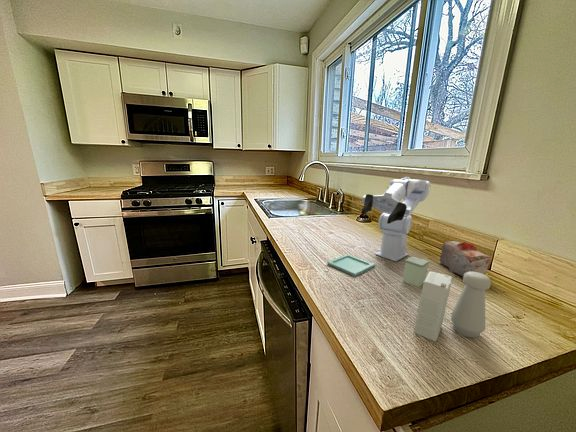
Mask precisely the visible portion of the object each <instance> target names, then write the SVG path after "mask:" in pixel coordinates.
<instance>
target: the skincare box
mask: <svg viewBox="0 0 576 432" xmlns="http://www.w3.org/2000/svg"><path fill="white" fill-rule="evenodd" d="M427 273H428V274H426V279H425V281H424V283H423V284H422V289H421V294H420V299H419V302H418V303H419V304H418V308H417V314H416V319H415V324H414V330H413V332H414V333H415V334H418V335H420V336H422V337H423V338H425V339H429V340H430V341H433V342H437V341H438V338H439V335H440V332H441V328H442V326H443V322H444V317H445V313H446V308H447V304H448V299H449V295H450V290H451V285H452V281H453V276H450V275H446V274H444V273H443V274H442V273H438V272H435V271H429V272H427Z"/></svg>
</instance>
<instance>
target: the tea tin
mask: <svg viewBox="0 0 576 432" xmlns="http://www.w3.org/2000/svg"><path fill="white" fill-rule="evenodd" d="M404 263H405V265H404V270H403V271H404V272H403V278H402V282H404V283H407V284H409V285H413V286H415V287H417V288H419V287H421V286H423V284H424V281H425V279H426V277H427V273H428V272H427V271H428V266H429V263H430V261H429V260H426V259H422V258H420V257H416V256H413V255H412V256H410V257H408V258H407V259H405V262H404Z"/></svg>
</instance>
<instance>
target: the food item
mask: <svg viewBox="0 0 576 432" xmlns="http://www.w3.org/2000/svg"><path fill="white" fill-rule="evenodd" d="M440 253H441V254H440V258H439V264H442V265H444V267H445V266H446V267H447V268H448V269H449V272H450V273H451V272H452V273H455V274H457V275H459V276H461V277H462V278H463V277H464V274H465V273H467V272H478V273H482V274H484V275H486V273H487V270H488V269H489V265H490V262H491V259H492V257H491V256H490V255H487V254H485V253H483V252H481V251H478V250H477V247H476V245H474V243H473V244H472V243H469V242H466V241H465V242H459V241H455V240H452V241H450V240H448V241H444V242H443V243H442V246H441V252H440Z"/></svg>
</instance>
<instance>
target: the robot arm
mask: <svg viewBox="0 0 576 432" xmlns="http://www.w3.org/2000/svg"><path fill="white" fill-rule="evenodd" d="M429 187H430V188H431V182H430V181H429V180H422V179H411V178H410V177H409V176H404V177H401V178H400V179H391V180H390V181H389V185H388V186H387V188H386V190H385V191H384V192H383V194H375V195H373V194H369V193H368V194H364V195H363V196H362V199H361V203H364V204H363V207H362V208H361V216H365V215H366V214H367V213H368V212H372V208H373V207H374V208H375V209H377V210H378V211H379V212H381V213H382V214H380V216H379V218H378V223H377V224H378V228H379V230H381V232H380V233H382V235H381V236H382V237H381V245H380V251H377V252H375V255H376V256H379V257H381V258H385V259H388V260H390V261H393V262H397V261H399V260H401V259H403V258H405V257H407V256H408V255H409V254H408V253H406V250H407V243H408V236H407V234H408V233H409V232H410V229H411V227H412V222H413V217H412V215H411V214H412V213H413V211H414V210H415V209H416V208H417V207H418V205H419V204H420V203H421V202H424V201H425V200H426V199H427V198H428V196H429V194H430V191H429ZM402 200H404V201H402ZM401 201H402V202H401Z"/></svg>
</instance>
